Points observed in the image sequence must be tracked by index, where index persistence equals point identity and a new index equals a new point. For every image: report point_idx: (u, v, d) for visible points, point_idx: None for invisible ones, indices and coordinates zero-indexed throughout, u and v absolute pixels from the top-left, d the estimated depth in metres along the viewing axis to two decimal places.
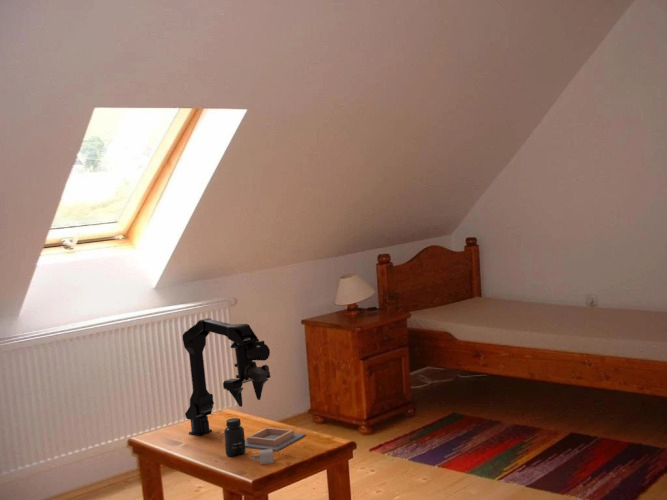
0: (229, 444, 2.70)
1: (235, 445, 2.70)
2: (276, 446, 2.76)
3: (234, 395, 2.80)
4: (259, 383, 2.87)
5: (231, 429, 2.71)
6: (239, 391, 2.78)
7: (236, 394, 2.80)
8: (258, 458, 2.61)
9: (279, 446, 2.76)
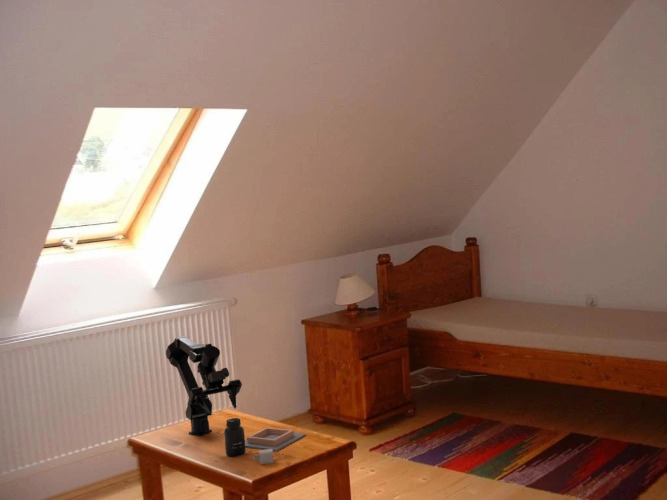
0: (229, 444, 2.70)
1: (235, 445, 2.70)
2: (276, 446, 2.76)
3: (203, 406, 2.80)
4: (231, 392, 2.85)
5: (231, 429, 2.71)
6: (202, 397, 2.79)
7: (203, 403, 2.80)
8: (258, 458, 2.61)
9: (279, 446, 2.76)
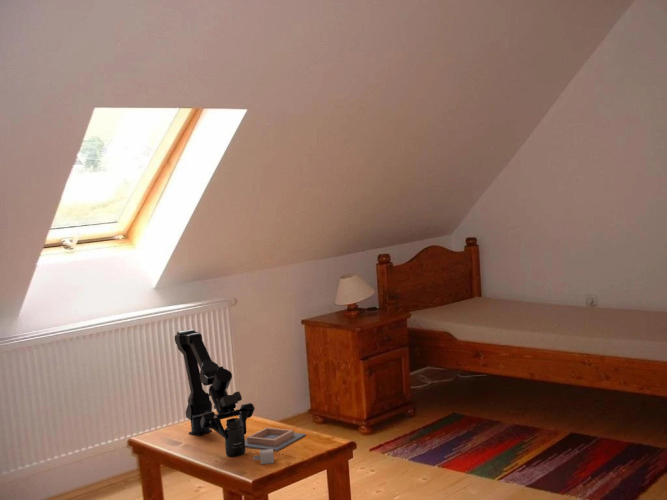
0: (229, 444, 2.70)
1: (235, 445, 2.70)
2: (276, 446, 2.76)
3: (217, 430, 2.73)
4: (241, 417, 2.77)
5: (231, 429, 2.71)
6: (217, 421, 2.71)
7: (218, 428, 2.72)
8: (259, 458, 2.61)
9: (279, 446, 2.76)
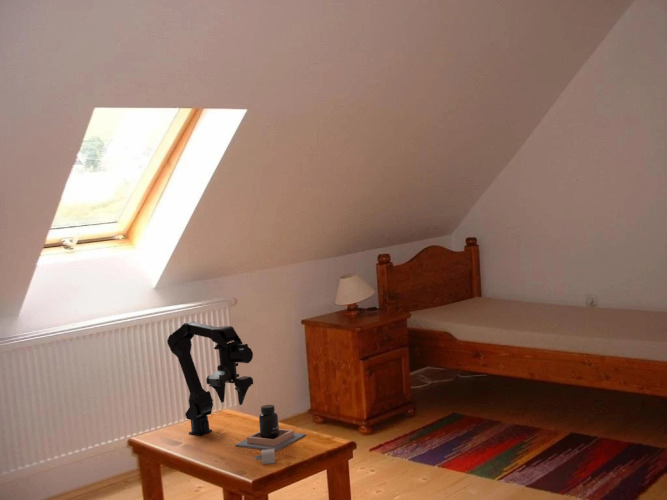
0: (269, 429, 2.82)
1: (274, 429, 2.82)
2: (276, 446, 2.76)
3: None
4: None
5: (269, 414, 2.82)
6: (213, 387, 2.93)
7: None
8: (260, 458, 2.61)
9: (279, 446, 2.76)
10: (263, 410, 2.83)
